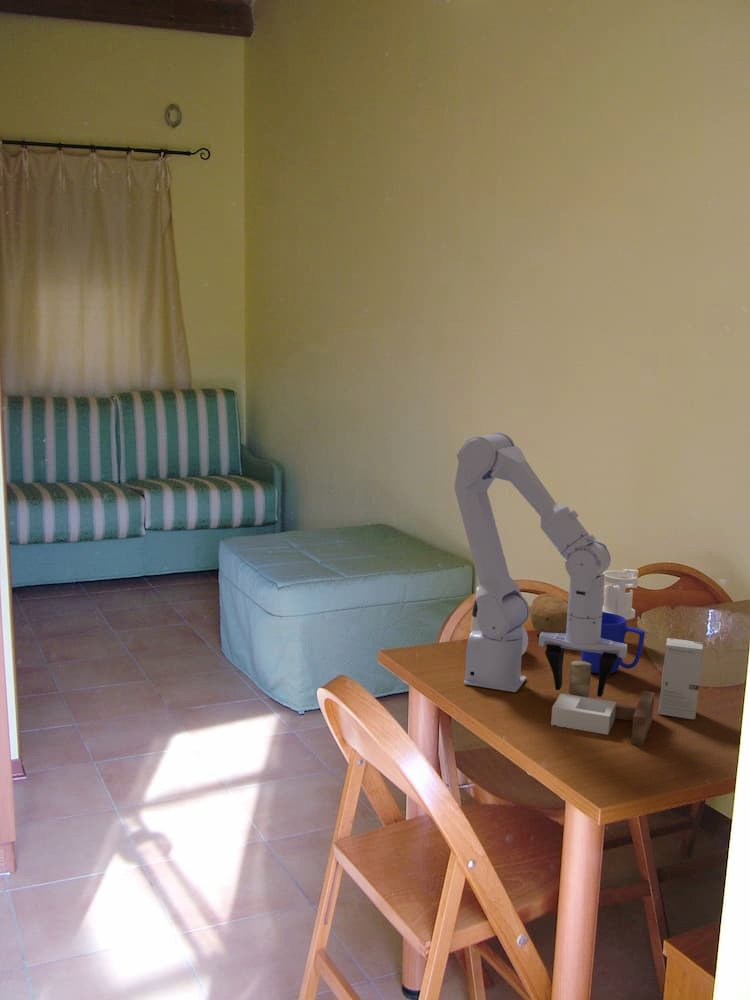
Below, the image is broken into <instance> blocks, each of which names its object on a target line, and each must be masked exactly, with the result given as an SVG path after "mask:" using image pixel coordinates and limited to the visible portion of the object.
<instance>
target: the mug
mask: <svg viewBox="0 0 750 1000" xmlns="http://www.w3.org/2000/svg"><path fill="white" fill-rule="evenodd" d="M628 632H631V633H635V634H638V635H639V638H638V639H639V640H638V645H637V651H636V654H635V658H634V660H633V662H632V663H630V664H629V663H626V662H624V661H623V658H620V657H619V656H618V658H617V660H616V662H615V663H614V665H613V667H612V669H611V671H610V673H609V675H610V674H614V673H615V672H617V671H618V669H619V667H622V668H624V669H632V668H635V667H636V666H637V664H638V663H639V661H640V659H641V655H642V652H643V647H644V642H645V636H646V632H645V630H643V629H640V628H638V627H632V626H628V625H627V620H626V619H625V618H624V617H622V616H620V615H617V614H613V613H606V612H602V623H601V637H600V638H602V639H606V640H610V641H614V642H618V643H624V642H625V638H626V634H627V633H628ZM624 644H625V643H624ZM580 655H581V656H580V657H581V658H580V661H584V662H588V663H590V664H591V673H593V674H597V675H598V674H599V672H600V658H601V656H602V655H603V654H601V653H594V652H587V651H580Z"/></svg>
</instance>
